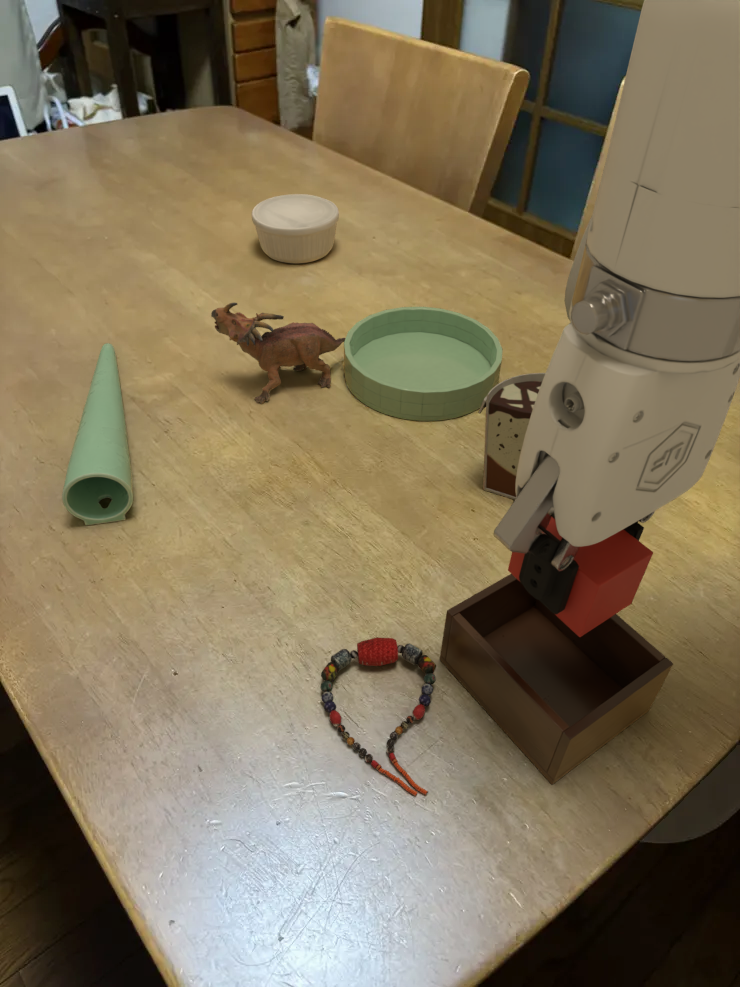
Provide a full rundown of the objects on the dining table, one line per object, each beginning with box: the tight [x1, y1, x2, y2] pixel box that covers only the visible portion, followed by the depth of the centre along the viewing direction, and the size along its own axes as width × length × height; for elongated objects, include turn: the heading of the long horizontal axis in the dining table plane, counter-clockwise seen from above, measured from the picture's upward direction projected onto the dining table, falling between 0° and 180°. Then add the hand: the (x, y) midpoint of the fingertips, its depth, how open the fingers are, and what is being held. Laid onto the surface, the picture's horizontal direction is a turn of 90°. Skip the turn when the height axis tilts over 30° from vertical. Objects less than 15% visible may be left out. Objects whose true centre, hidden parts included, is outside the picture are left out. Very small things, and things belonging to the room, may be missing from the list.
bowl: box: [343, 306, 504, 422], centre depth 78 cm, size 16×16×4 cm
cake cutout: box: [478, 372, 546, 501], centre depth 64 cm, size 12×6×10 cm, turn 65°
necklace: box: [320, 637, 437, 797], centre depth 49 cm, size 8×11×2 cm
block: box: [507, 517, 654, 637], centre depth 43 cm, size 6×4×4 cm
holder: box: [439, 573, 674, 785], centre depth 50 cm, size 11×9×6 cm
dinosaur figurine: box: [210, 302, 346, 404], centre depth 75 cm, size 14×6×9 cm, turn 110°
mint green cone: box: [61, 342, 134, 526], centre depth 70 cm, size 5×6×27 cm
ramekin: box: [251, 193, 340, 264], centre depth 99 cm, size 11×11×5 cm
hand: (572, 575), depth 44 cm, fingers closed on block, 4 cm apart
